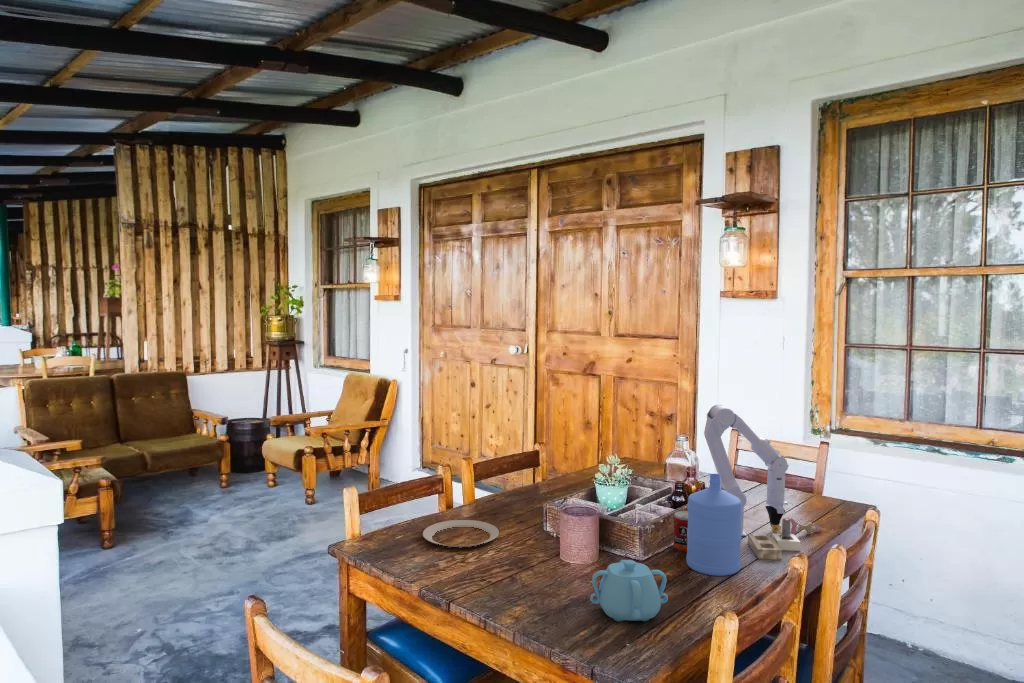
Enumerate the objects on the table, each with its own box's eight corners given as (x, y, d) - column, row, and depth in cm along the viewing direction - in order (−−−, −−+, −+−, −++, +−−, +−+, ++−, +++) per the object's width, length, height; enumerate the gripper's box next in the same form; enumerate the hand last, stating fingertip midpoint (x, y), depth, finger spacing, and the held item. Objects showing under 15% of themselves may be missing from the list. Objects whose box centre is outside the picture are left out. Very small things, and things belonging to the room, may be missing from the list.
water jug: (743, 579, 200) (746, 483, 198) (687, 574, 203) (689, 480, 201) (737, 559, 215) (739, 470, 213) (685, 555, 218) (686, 467, 216)
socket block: (777, 549, 223) (777, 540, 222) (764, 533, 239) (765, 524, 238) (799, 550, 222) (800, 541, 222) (785, 533, 238) (786, 525, 238)
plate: (464, 557, 216) (464, 551, 215) (406, 540, 231) (406, 534, 231) (514, 535, 236) (514, 529, 236) (457, 520, 251) (457, 515, 251)
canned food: (670, 549, 223) (671, 516, 222) (677, 541, 230) (677, 509, 229) (694, 553, 219) (695, 519, 218) (700, 545, 226) (701, 512, 225)
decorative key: (821, 538, 241) (783, 538, 231) (818, 537, 242) (780, 537, 232) (824, 519, 241) (786, 518, 231) (821, 518, 242) (783, 517, 232)
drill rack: (758, 558, 215) (758, 549, 215) (747, 542, 229) (748, 533, 229) (781, 559, 214) (781, 550, 214) (769, 543, 228) (769, 534, 228)
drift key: (776, 538, 232) (776, 530, 231) (771, 531, 238) (771, 523, 238) (785, 538, 231) (785, 530, 231) (779, 532, 238) (780, 524, 237)
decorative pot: (625, 594, 190) (626, 545, 189) (674, 614, 177) (674, 562, 176) (584, 611, 179) (584, 560, 178) (632, 634, 167) (633, 579, 166)
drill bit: (782, 547, 225) (783, 520, 224) (780, 545, 227) (781, 518, 226) (790, 548, 224) (791, 520, 224) (788, 545, 227) (789, 518, 226)
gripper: (794, 495, 231) (792, 535, 232) (781, 483, 245) (780, 521, 246) (772, 494, 231) (771, 534, 232) (761, 483, 246) (760, 520, 247)
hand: (774, 527), depth 239 cm, fingers closed
